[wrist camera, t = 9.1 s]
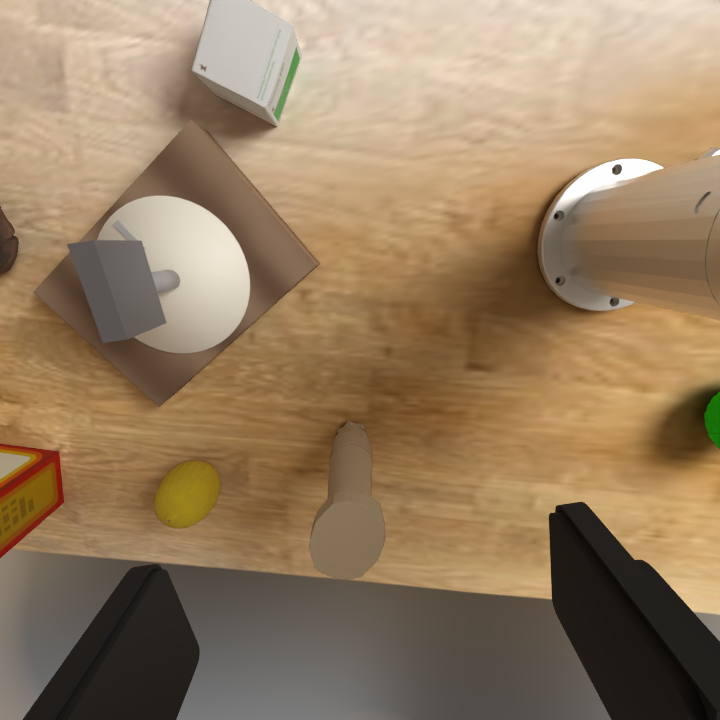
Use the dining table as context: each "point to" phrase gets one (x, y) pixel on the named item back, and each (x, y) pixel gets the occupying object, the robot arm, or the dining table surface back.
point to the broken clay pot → (7, 244)
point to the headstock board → (241, 216)
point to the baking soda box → (26, 491)
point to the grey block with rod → (121, 287)
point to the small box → (248, 57)
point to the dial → (187, 270)
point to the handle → (348, 510)
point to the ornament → (713, 419)
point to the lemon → (187, 494)
